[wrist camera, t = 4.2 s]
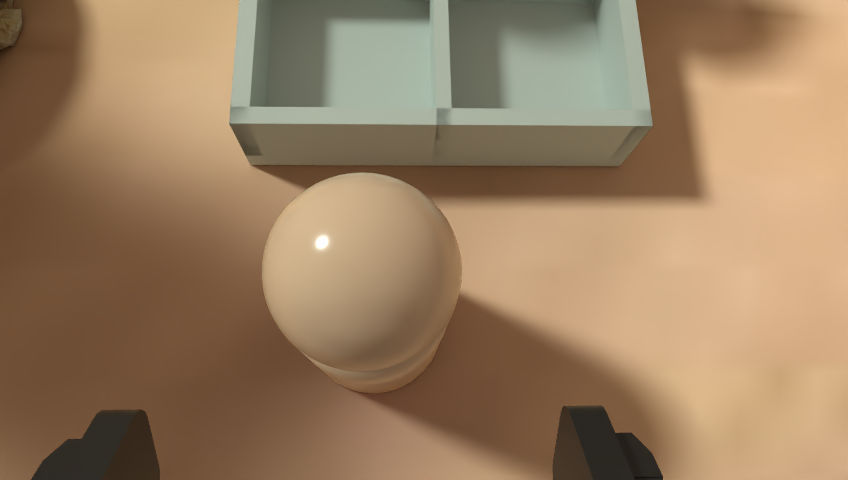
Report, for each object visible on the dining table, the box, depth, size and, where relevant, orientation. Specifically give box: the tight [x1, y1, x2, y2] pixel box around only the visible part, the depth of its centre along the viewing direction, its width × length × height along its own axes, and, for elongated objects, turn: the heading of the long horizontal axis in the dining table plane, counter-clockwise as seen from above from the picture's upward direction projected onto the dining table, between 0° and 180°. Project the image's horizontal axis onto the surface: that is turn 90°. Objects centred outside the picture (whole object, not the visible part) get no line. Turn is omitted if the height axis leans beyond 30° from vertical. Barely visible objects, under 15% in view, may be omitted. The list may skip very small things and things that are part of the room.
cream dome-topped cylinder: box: [262, 172, 462, 393], centre depth 17 cm, size 5×5×10 cm
